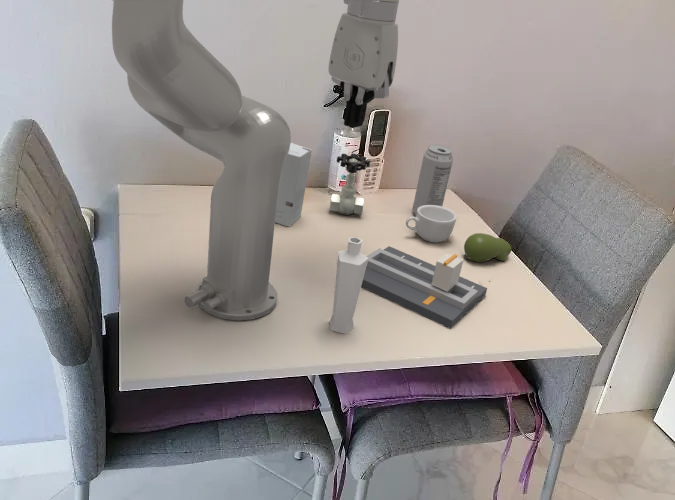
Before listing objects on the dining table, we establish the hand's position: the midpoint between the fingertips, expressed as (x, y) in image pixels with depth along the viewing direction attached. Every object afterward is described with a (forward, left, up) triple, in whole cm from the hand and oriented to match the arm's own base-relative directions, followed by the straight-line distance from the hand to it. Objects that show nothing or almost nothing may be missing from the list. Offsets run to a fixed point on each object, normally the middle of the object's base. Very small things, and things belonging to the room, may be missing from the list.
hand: (353, 125), depth 113 cm
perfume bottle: (-17, -13, -25) cm, 33 cm away
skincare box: (+5, +17, -25) cm, 30 cm away
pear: (+22, -21, -25) cm, 39 cm away
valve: (+17, +9, -25) cm, 31 cm away
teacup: (+21, -8, -25) cm, 34 cm away
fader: (+2, -21, -23) cm, 31 cm away
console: (+2, -16, -25) cm, 30 cm away
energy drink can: (+30, -3, -25) cm, 39 cm away
